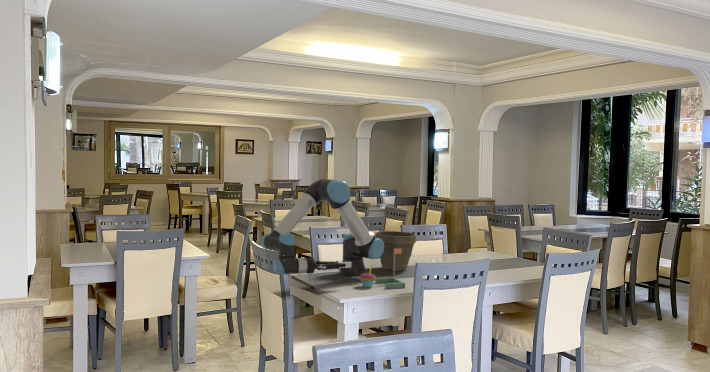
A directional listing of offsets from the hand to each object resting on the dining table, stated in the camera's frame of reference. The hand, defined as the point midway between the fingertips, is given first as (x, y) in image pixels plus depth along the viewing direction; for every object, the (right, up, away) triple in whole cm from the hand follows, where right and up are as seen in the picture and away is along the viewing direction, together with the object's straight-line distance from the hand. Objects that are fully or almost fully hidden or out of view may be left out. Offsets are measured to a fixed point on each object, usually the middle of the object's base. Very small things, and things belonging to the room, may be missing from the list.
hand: (350, 264), depth 283 cm
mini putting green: (+22, -12, +9) cm, 27 cm away
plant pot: (+26, -11, +56) cm, 63 cm away
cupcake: (+8, -12, +4) cm, 15 cm away
